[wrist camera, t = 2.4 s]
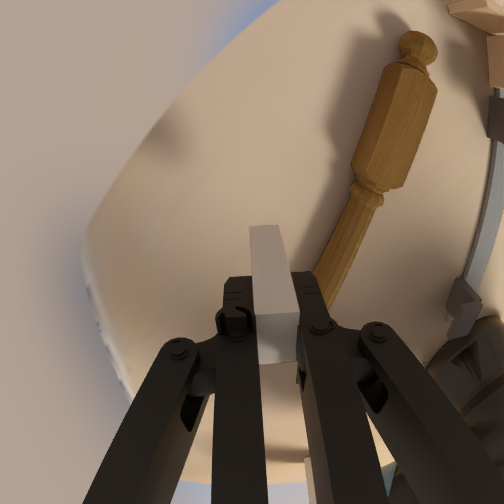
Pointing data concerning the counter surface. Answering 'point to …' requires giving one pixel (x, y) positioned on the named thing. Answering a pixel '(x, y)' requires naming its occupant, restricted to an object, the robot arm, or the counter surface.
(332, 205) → the counter surface
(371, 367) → the robot arm
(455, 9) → the board
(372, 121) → the tap handle
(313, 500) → the milk
